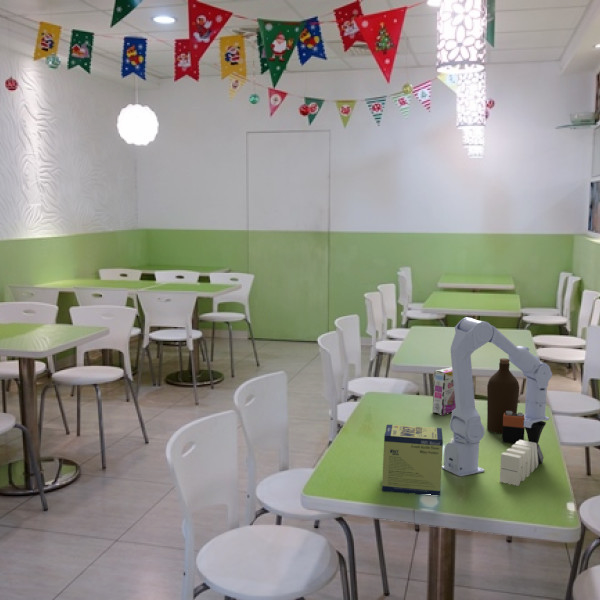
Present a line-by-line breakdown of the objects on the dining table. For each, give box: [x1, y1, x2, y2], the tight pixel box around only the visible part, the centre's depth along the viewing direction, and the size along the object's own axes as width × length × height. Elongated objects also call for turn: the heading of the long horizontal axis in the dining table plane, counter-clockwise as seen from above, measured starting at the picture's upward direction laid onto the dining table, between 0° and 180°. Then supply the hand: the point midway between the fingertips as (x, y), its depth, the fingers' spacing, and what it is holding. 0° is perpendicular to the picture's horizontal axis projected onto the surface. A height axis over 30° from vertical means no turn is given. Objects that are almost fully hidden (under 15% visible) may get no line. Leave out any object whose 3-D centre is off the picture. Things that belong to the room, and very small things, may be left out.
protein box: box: [381, 424, 444, 496], centre depth 186 cm, size 10×16×16 cm
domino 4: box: [510, 444, 531, 478], centre depth 197 cm, size 2×5×8 cm, turn 54°
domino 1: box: [499, 451, 521, 487], centre depth 190 cm, size 2×5×8 cm, turn 54°
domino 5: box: [519, 439, 539, 470], centre depth 202 cm, size 2×5×8 cm, turn 54°
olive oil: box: [486, 358, 520, 435], centre depth 237 cm, size 11×11×25 cm
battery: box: [501, 411, 526, 445], centre depth 226 cm, size 4×7×10 cm, turn 72°
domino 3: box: [514, 441, 535, 474], centre depth 200 cm, size 2×5×8 cm, turn 54°
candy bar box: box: [432, 366, 456, 416], centre depth 259 cm, size 11×5×16 cm, turn 133°
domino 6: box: [537, 443, 544, 464], centre depth 206 cm, size 2×5×8 cm
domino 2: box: [505, 447, 526, 482], centre depth 194 cm, size 2×5×8 cm, turn 54°
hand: (533, 445), depth 206 cm, fingers closed
